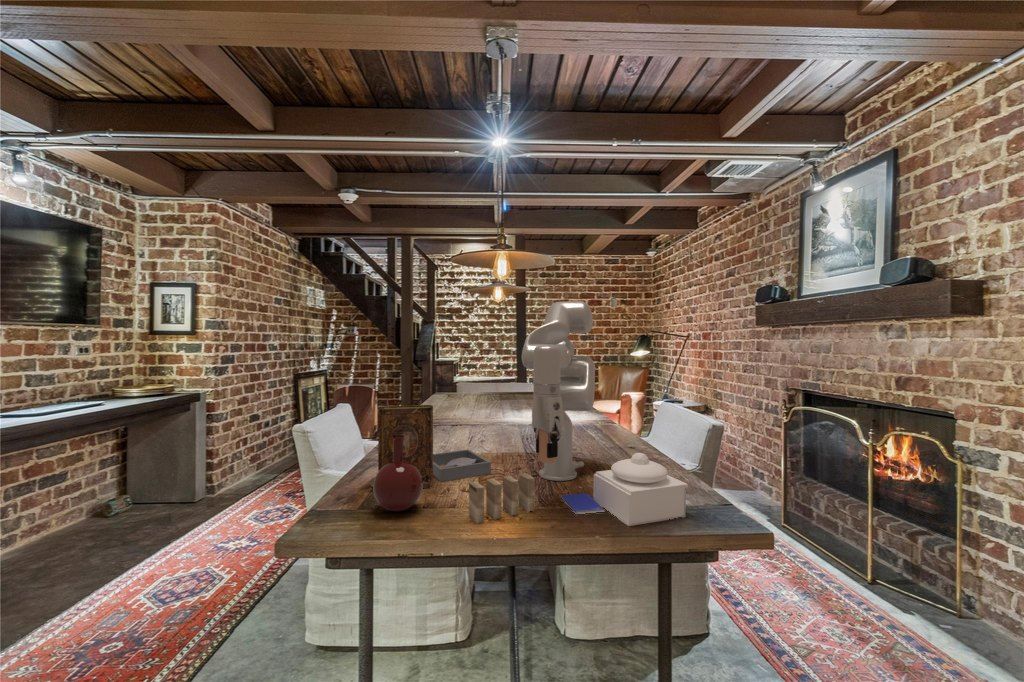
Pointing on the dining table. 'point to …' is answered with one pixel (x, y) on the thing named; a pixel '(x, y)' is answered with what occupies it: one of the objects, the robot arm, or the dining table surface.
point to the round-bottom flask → (398, 481)
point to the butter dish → (640, 491)
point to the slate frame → (459, 471)
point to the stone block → (460, 462)
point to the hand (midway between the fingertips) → (546, 454)
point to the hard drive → (582, 503)
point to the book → (408, 437)
